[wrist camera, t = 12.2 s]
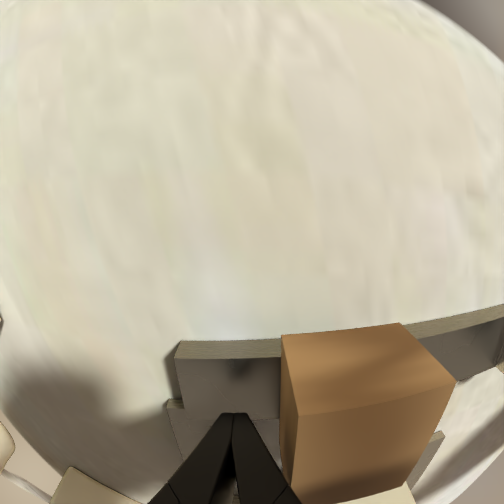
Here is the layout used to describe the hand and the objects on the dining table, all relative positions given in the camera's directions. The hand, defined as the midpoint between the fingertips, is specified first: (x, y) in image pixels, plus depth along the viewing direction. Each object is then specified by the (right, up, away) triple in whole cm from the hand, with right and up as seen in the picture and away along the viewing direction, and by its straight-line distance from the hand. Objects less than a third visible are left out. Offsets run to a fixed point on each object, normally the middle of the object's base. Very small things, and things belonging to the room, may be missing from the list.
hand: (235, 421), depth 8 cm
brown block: (+4, 0, +1) cm, 4 cm away
